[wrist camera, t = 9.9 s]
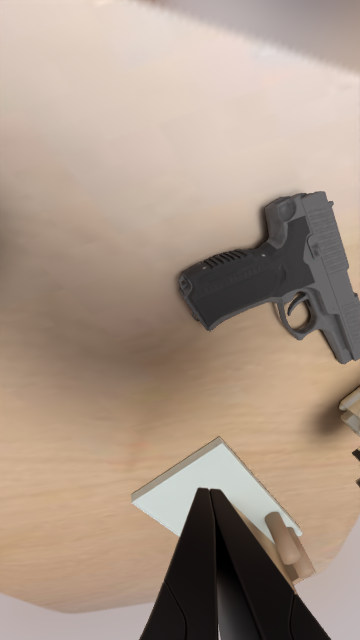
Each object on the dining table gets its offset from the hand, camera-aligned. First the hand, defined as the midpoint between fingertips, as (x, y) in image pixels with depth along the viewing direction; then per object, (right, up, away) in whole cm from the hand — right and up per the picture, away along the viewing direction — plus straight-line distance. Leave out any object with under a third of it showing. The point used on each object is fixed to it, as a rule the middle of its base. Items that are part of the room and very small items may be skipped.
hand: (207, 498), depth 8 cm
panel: (+5, -17, +20) cm, 27 cm away
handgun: (+7, +7, +12) cm, 16 cm away
